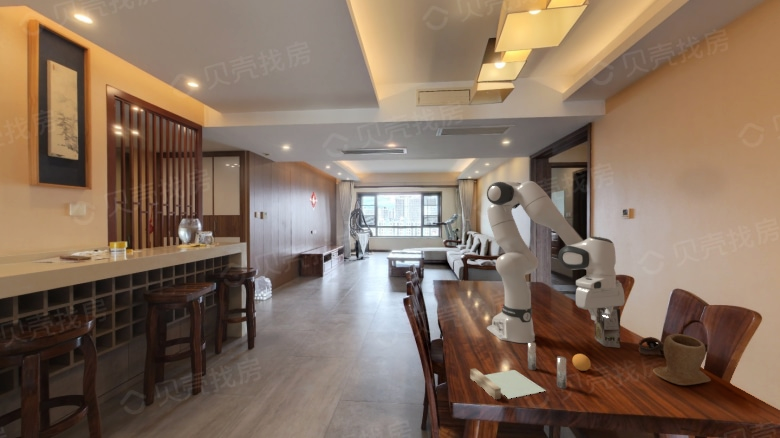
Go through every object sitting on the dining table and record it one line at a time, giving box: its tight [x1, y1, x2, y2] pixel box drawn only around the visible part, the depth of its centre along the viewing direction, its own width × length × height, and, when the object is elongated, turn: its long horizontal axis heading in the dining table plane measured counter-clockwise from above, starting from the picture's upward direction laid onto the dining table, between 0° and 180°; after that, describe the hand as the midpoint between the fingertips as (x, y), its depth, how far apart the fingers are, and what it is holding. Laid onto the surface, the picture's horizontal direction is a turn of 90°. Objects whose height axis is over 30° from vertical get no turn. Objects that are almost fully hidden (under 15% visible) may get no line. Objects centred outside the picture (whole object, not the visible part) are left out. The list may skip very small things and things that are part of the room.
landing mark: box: [483, 369, 547, 400], centre depth 98 cm, size 14×14×1 cm
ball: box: [572, 353, 591, 372], centre depth 108 cm, size 6×6×6 cm
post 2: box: [556, 356, 567, 390], centre depth 97 cm, size 3×3×9 cm
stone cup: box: [652, 333, 712, 386], centre depth 100 cm, size 15×12×15 cm
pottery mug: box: [638, 336, 664, 356], centre depth 120 cm, size 12×10×8 cm
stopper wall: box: [469, 368, 502, 400], centre depth 96 cm, size 13×2×3 cm, turn 18°
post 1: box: [527, 341, 537, 371], centre depth 109 cm, size 3×3×9 cm
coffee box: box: [594, 306, 621, 349], centre depth 132 cm, size 9×6×16 cm
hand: (600, 319), depth 111 cm, fingers open, 5 cm apart
